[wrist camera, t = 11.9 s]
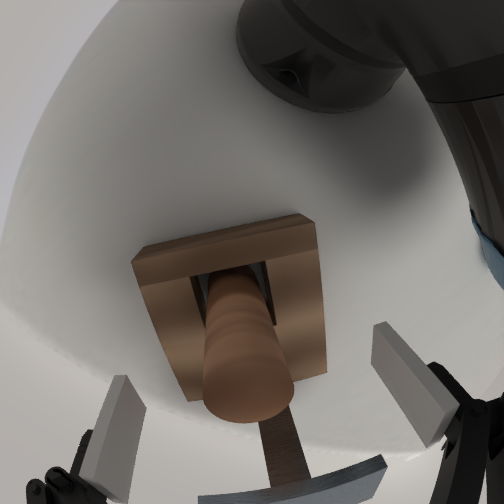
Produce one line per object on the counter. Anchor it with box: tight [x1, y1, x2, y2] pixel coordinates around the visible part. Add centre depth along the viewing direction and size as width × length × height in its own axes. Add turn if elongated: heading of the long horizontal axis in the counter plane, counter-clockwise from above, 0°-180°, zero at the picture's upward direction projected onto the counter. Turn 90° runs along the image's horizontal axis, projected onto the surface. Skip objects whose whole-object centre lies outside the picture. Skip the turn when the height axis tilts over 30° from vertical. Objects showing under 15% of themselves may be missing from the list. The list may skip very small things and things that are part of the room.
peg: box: [203, 265, 294, 423], centre depth 19 cm, size 4×4×14 cm
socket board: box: [131, 214, 327, 402], centre depth 24 cm, size 15×14×4 cm
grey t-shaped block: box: [198, 405, 388, 504], centre depth 21 cm, size 7×12×17 cm, turn 101°
